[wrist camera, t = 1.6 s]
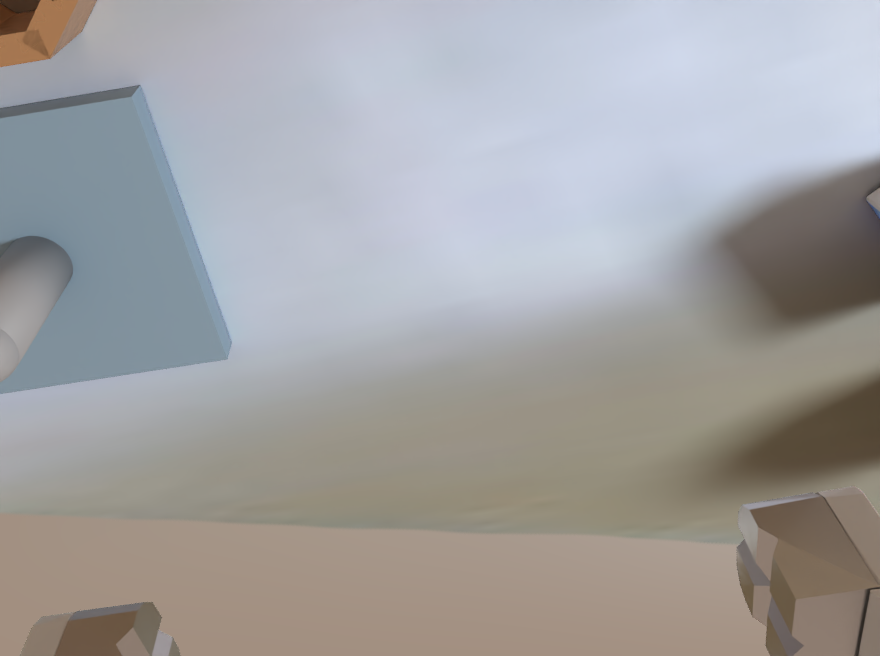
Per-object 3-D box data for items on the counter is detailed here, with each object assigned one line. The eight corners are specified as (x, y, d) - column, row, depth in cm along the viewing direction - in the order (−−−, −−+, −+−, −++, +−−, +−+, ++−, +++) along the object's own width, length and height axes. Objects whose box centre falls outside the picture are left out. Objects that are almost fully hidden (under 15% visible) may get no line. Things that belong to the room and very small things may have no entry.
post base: (-167, 136, 37) (-327, 243, 29) (140, 85, 36) (67, 179, 28) (-23, 381, 45) (-116, 521, 36) (231, 342, 44) (196, 475, 36)
